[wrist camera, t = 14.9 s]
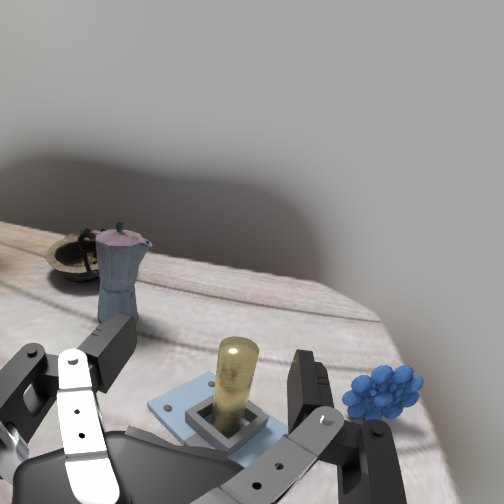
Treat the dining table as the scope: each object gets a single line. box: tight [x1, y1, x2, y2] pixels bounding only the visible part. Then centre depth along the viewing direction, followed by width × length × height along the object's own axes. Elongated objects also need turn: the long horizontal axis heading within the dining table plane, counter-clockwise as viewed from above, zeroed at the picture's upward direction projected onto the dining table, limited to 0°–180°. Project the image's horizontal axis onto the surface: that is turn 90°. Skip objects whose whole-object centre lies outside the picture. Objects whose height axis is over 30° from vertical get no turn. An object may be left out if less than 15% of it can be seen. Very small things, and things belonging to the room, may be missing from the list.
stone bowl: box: [44, 229, 106, 282], centre depth 66 cm, size 25×25×9 cm
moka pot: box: [78, 222, 152, 322], centre depth 49 cm, size 10×15×20 cm, turn 101°
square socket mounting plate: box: [147, 371, 288, 468], centre depth 31 cm, size 19×12×4 cm, turn 50°
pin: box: [211, 337, 259, 437], centre depth 29 cm, size 4×4×14 cm
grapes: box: [342, 365, 424, 421], centre depth 34 cm, size 12×7×12 cm, turn 69°
